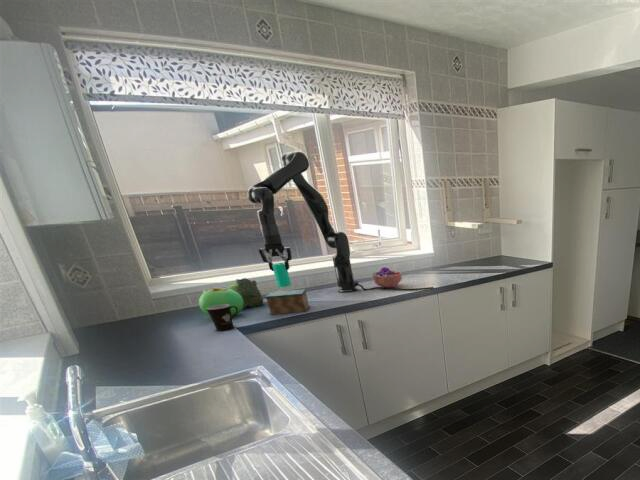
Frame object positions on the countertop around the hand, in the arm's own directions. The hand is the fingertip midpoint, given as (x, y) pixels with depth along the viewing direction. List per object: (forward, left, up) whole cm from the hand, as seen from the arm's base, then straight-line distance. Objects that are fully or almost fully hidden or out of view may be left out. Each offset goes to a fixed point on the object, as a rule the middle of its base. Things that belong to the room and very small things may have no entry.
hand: (280, 270), depth 205 cm
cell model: (-48, -37, -20) cm, 64 cm away
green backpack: (+26, -15, -20) cm, 36 cm away
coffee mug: (+21, +23, -20) cm, 37 cm away
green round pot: (+29, +1, -20) cm, 35 cm away
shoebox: (0, 0, -20) cm, 20 cm away
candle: (0, 0, -8) cm, 8 cm away
